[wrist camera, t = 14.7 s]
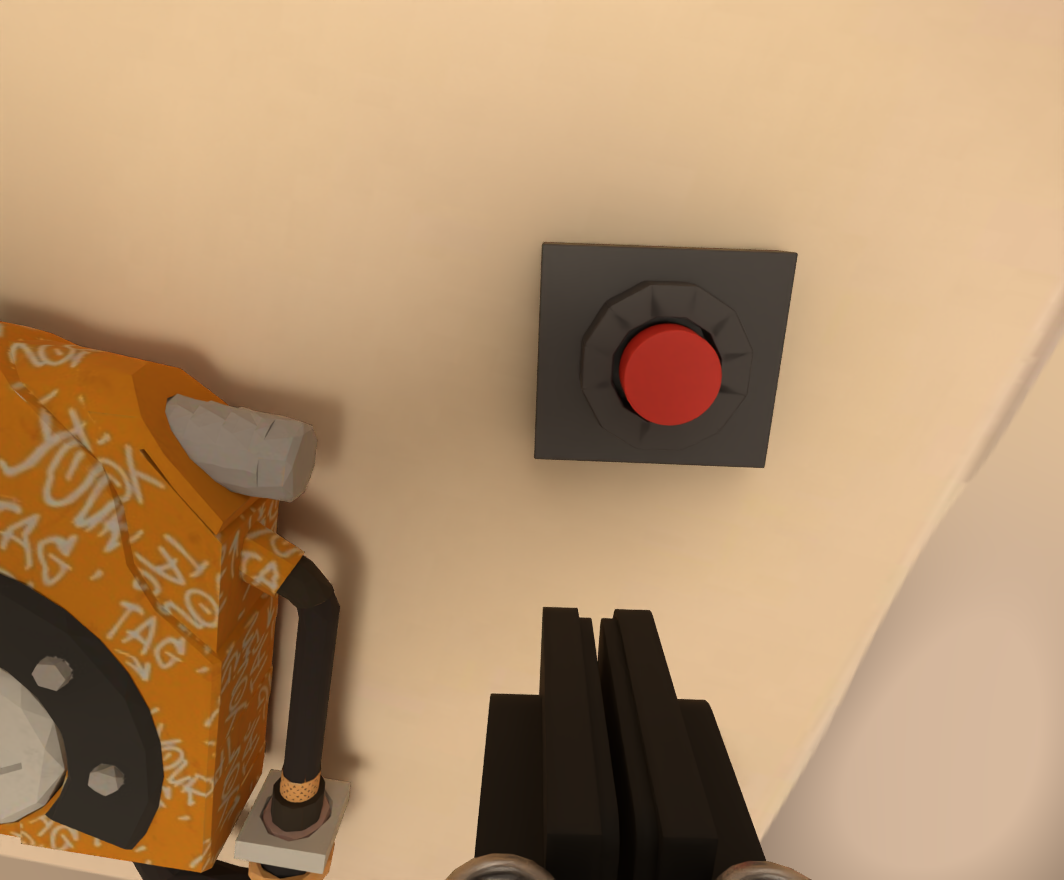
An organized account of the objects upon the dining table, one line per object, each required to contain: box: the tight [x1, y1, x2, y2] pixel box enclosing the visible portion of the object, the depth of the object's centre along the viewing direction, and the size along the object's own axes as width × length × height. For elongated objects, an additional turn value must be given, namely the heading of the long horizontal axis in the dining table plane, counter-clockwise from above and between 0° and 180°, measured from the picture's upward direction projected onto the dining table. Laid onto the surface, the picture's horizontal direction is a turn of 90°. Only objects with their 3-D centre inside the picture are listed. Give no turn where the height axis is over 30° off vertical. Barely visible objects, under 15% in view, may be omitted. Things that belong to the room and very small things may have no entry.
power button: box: [619, 323, 722, 425], centre depth 25 cm, size 4×4×2 cm
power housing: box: [534, 242, 798, 468], centre depth 27 cm, size 10×9×4 cm
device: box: [0, 321, 351, 880], centre depth 30 cm, size 23×8×30 cm
